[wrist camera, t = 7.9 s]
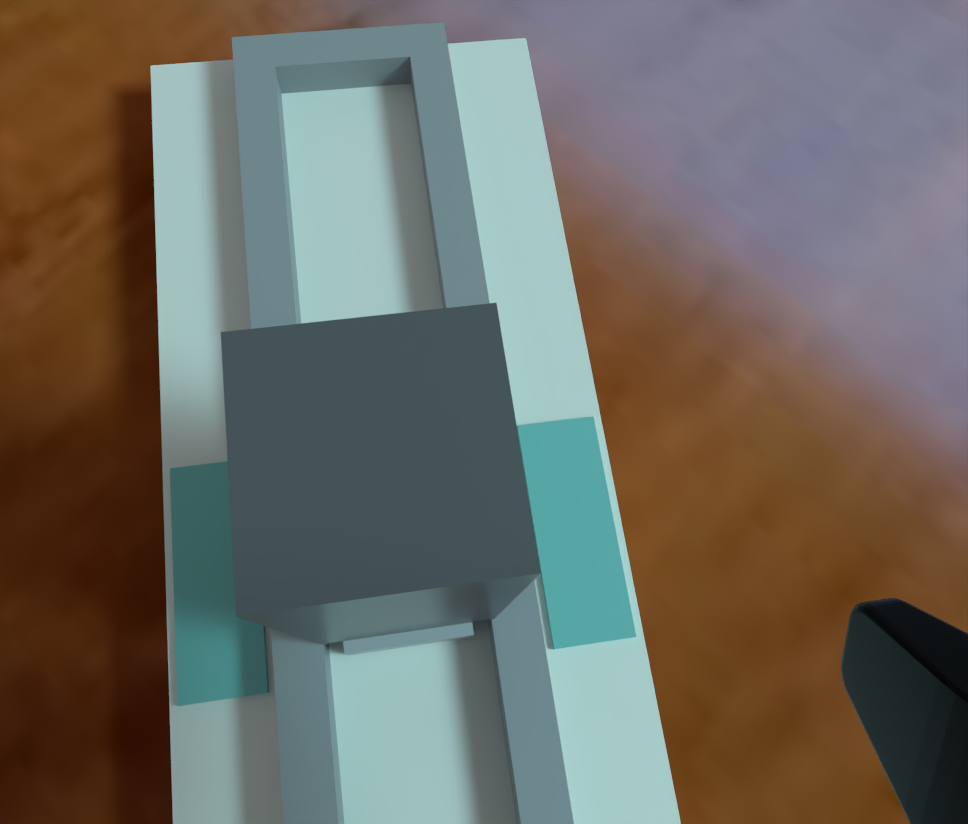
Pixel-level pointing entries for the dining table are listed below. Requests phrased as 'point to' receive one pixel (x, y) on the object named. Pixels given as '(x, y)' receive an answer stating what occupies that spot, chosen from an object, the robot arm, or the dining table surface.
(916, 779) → the robot arm
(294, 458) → the fader
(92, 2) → the dining table surface
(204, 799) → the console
